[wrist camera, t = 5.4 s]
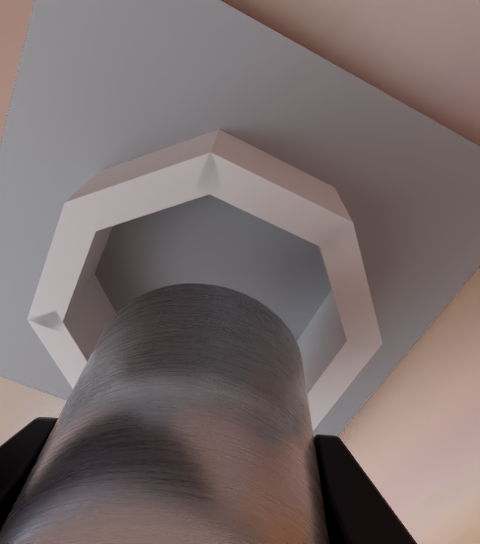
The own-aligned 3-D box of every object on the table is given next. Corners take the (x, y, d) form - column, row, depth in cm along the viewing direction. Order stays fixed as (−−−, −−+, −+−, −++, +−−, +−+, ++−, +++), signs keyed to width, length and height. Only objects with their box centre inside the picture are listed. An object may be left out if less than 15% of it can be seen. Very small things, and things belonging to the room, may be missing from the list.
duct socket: (527, 173, 13) (616, 219, 9) (295, 461, 18) (304, 550, 15) (73, -82, 10) (-7, -133, 7) (-33, 340, 16) (-104, 415, 13)
